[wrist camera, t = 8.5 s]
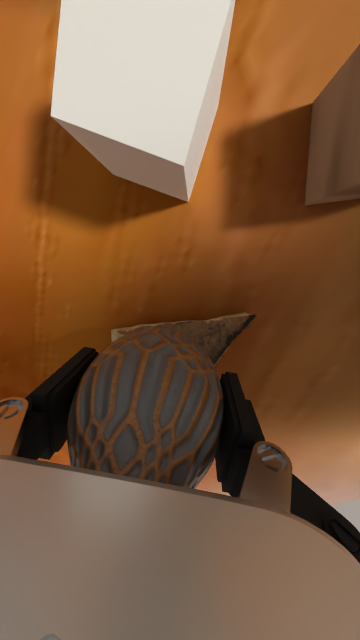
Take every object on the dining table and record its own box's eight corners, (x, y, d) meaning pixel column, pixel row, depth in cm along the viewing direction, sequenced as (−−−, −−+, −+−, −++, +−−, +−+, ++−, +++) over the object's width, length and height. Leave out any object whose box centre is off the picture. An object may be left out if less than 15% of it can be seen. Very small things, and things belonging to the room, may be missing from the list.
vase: (173, 421, 15) (148, 630, 7) (93, 369, 14) (-53, 539, 6) (238, 356, 13) (314, 542, 5) (149, 290, 12) (48, 377, 4)
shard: (251, 308, 15) (258, 315, 14) (252, 392, 18) (259, 407, 16) (114, 322, 17) (105, 330, 15) (132, 399, 19) (126, 414, 17)
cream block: (218, 106, 12) (240, -34, 6) (188, 202, 13) (183, 166, 7) (133, 73, 11) (71, -106, 6) (113, 175, 13) (50, 115, 7)
